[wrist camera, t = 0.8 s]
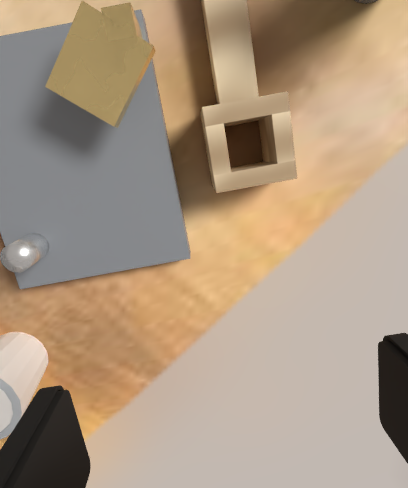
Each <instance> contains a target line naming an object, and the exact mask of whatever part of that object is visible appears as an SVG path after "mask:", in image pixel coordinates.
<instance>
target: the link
mask: <svg viewBox="0 0 408 488" xmlns="http://www.w3.org/2000/svg"><path fill="white" fill-rule="evenodd" d="M201 5H202V12H203V18H204V25H205V31H206V37H207V44H208V50H209V57H210V63H211V69H212V76H213V82H214V89H215V95H216V101H217V104H216V105H211V106H206V107H202V110H201V113H200V116H201V122H202V128H203V134H204V140H205V146H206V151H207V157H208V163H209V169H210V175H211V181H212V186H213V188H214V190H215V191H216V193H220V192H226V191H231V190H237V189H242V188H248V187H253V186H259V185H264V184H270V183H275V182H281V181H286V180H291V179H297V172H296V162H295V152H294V143H293V133H292V124H291V114H290V104H289V95H288V91H286V92H281V93H275V94H270V95H265V96H259V94H258V86H257V78H256V70H255V62H254V54H253V46H252V38H251V30H250V22H249V14H248V6H247V0H201ZM253 121H258V122H259V130H260V138H261V146H262V154H263V161H264V162H259V163H253V164H248V165H242V166H237V167H230V161H229V154H228V148H227V141H226V135H225V128H224V127H226V126H231V125H237V124H242V123H247V122H253Z"/></svg>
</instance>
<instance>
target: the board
mask: <svg viewBox="0 0 408 488" xmlns="http://www.w3.org/2000/svg"><path fill="white" fill-rule="evenodd" d="M134 13H135V15H136V18H137V20H138V23H139V25H140V28H141V32H142V37H143V40H145V41H147V42H148V43H149V39H148V34H147V29H146V24H145V19H144V16H143V14H142V11H141V10H136V11H134ZM71 25H72V23H67V24H62V25H57V26H51V27H46V28H41V29H36V30H30V31H25V32H20V33H15V34H9V35H4V36H0V233H1V236H2V239H3V242H4V245H5V246H7V245H9V244H11V243H13V242H15V241H17V240H19V239H21V238H23V237H25V236H26V235H28V234H31V233H38V234H41V235H43V236H44V237H45V238H46V239H47V241H48V243H49V251H48V253H47V255H46V256H44V257H43V258H41V259H40V260H39V261H37V262H36V263H35V264H33V265H32V266H30V267H29V268H28V269H26V270H25V271H23V272H14V273H15V276H16V279H17V282H18V285H19V288H20V289H24V288H30V287H35V286H41V285H46V284H52V283H57V282H63V281H68V280H74V279H79V278H85V277H91V276H96V275H102V274H107V273H113V272H118V271H124V270H129V269H135V268H140V267H146V266H151V265H157V264H162V263H168V262H173V261H179V260H184V259H190V247H189V242H188V237H187V232H186V227H185V222H184V217H183V212H182V207H181V202H180V197H179V192H178V186H177V181H176V176H175V171H174V166H173V161H172V156H171V151H170V146H169V141H168V136H167V131H166V126H165V120H164V115H163V110H162V105H161V100H160V95H159V90H158V85H157V80H156V75H155V70H154V65H153V60H152V59H151V61H150V63H149V65H148V68H147V70H146V72H145V74H144V76H143V78H142V80H141V82H140V84H139V86H138V88H137V90H136V92H135V94H134V96H133V98H132V100H131V102H130V104H129V106H128V108H127V110H126V112H125V115H124V117H123V119H122V121H121V123H120V125H119V127H118V128H116V127H114V126H112V125H110V124H108V123H107V122H105V121H103V120H101V119H100V118H98V117H96V116H95V115H93V114H91V113H89V112H88V111H86V110H84V109H83V108H81V107H79V106H77V105H76V104H74V103H72V102H70V101H69V100H67V99H65V98H64V97H62V96H60V95H58V94H57V93H55V92H53V91H52V90H50V89H48V88H46V87H45V86H46V83H47V81H48V79H49V76H50V74H51V72H52V69H53V67H54V65H55V62H56V60H57V58H58V55H59V53H60V51H61V48H62V46H63V44H64V41H65V39H66V37H67V34H68V32H69V30H70V27H71Z"/></svg>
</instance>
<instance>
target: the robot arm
mask: <svg viewBox="0 0 408 488" xmlns="http://www.w3.org/2000/svg"><path fill="white" fill-rule="evenodd" d="M378 361H379V362H378V365H379V412H380V413H379V415H380V421H381V424H382V426H383V428H384V430H385V431H386V433H387V434H388V436H389V437H390V439H391V440H392V441H393V443H394V444H395V446H396V447H397V449H398V450H399V452H400V453H401V455H402V456H403V457H404V459H405V460H406V462H407V463H408V334H406V333H400V334H394V335H388V336H385V337H384V338H383V341H382V342H379V344H378ZM89 473H90V459H89V456H88V452H87V449H86V446H85V442H84V439H83V436H82V432H81V429H80V426H79V422H78V419H77V415H76V412H75V409H74V405H73V402H72V399H71V395H70V393H69V391H68V390H64V389H63V387H62V386H54V387H48V388H42V389H40V390H39V391H38V392H37V394H36V395H35V397H34V398H33V400H32V401H31V403H30V405H29V406H28V408H27V409H26V411H25V412H24V414H23V416H22V417H21V419H20V420H19V422H18V423H17V425H16V426H15V428H14V430H13V431H12V433H11V434H10V436H9V437H8V439H7V441H6V442H5V444H4V445H3V447H2V448H1V450H0V488H85V487H86V483H87V480H88V477H89Z"/></svg>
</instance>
